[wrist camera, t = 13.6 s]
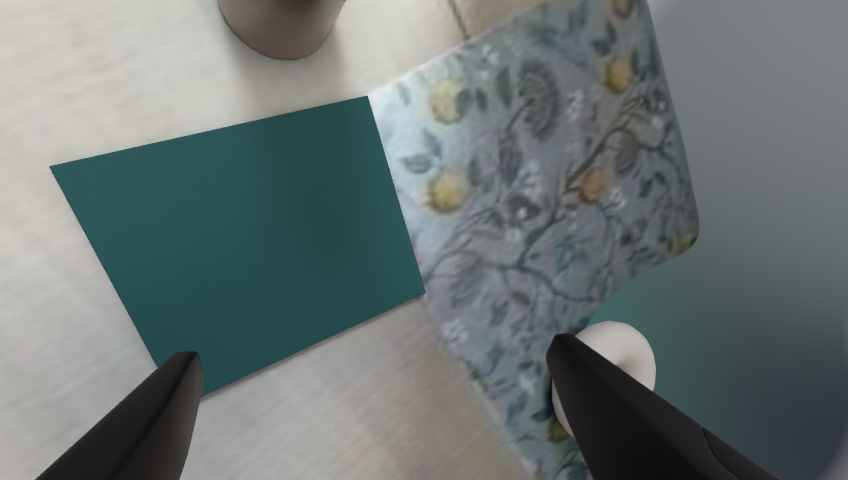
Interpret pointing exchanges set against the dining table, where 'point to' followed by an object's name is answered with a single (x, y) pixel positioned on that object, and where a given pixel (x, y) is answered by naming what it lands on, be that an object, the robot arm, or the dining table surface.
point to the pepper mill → (282, 24)
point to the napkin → (249, 235)
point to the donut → (615, 355)
